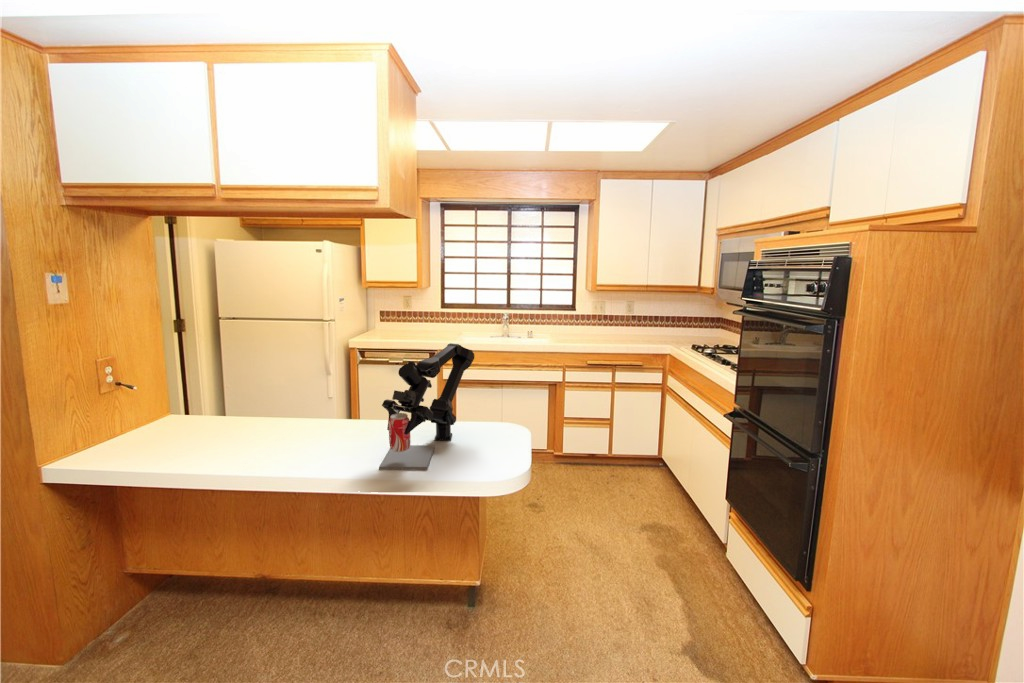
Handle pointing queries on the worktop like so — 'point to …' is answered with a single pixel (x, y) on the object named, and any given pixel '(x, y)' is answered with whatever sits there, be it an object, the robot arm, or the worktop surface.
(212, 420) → the worktop surface
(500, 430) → the worktop surface
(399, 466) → the charcoal mat
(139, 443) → the worktop surface
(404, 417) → the soda can
